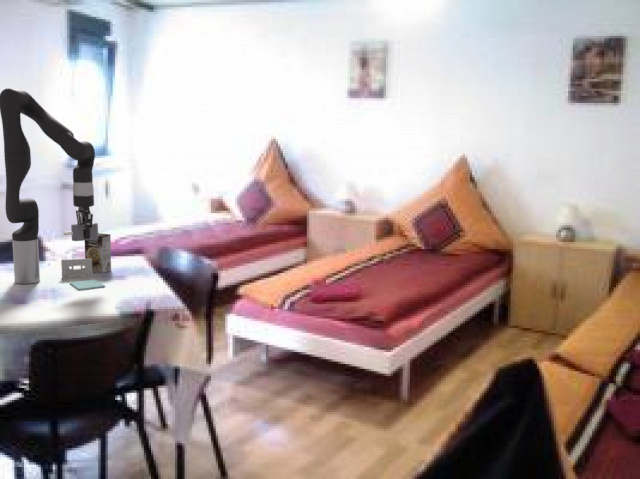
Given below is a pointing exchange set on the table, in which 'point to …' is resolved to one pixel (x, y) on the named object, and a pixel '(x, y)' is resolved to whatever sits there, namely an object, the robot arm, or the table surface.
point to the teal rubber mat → (87, 284)
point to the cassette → (76, 272)
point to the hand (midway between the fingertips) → (85, 237)
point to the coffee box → (99, 253)
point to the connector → (82, 232)
